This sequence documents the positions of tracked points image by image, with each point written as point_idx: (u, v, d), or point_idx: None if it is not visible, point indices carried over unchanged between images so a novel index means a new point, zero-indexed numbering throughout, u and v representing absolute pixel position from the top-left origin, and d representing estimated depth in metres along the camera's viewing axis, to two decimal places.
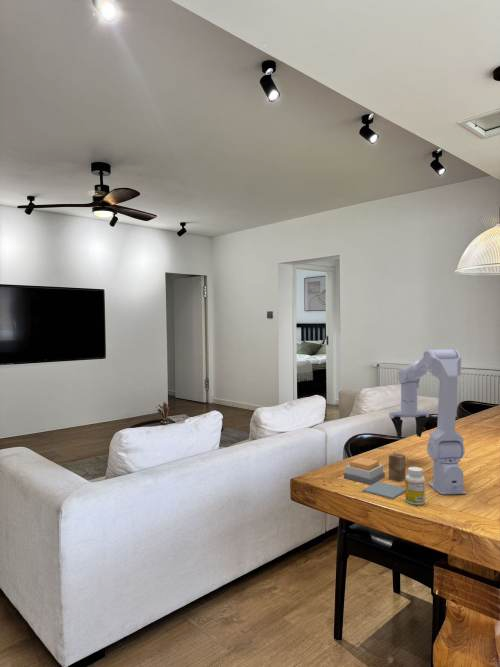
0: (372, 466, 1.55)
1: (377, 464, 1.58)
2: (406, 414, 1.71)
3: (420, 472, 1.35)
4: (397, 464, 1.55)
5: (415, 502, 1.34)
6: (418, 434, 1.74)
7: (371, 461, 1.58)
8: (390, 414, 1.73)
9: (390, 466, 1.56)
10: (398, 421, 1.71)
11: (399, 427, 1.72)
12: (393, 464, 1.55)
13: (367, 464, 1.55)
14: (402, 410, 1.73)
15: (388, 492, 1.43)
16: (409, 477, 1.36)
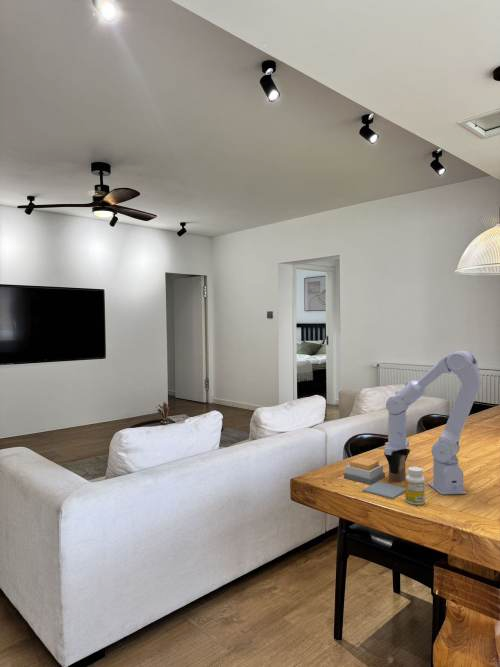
0: (372, 466, 1.55)
1: (377, 464, 1.58)
2: (401, 448, 1.53)
3: (420, 472, 1.35)
4: None
5: (415, 502, 1.34)
6: None
7: (371, 461, 1.58)
8: (387, 451, 1.51)
9: None
10: (399, 456, 1.52)
11: (398, 463, 1.53)
12: None
13: (367, 464, 1.55)
14: (394, 444, 1.54)
15: (388, 492, 1.43)
16: (409, 477, 1.36)
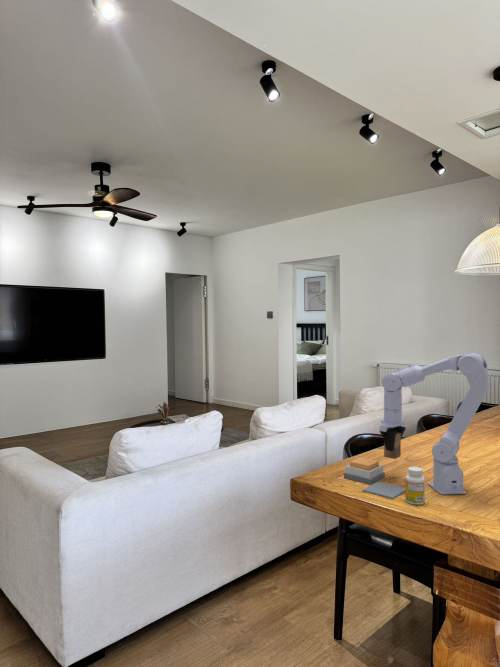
0: (372, 466, 1.55)
1: (377, 464, 1.58)
2: (396, 425, 1.54)
3: (420, 472, 1.35)
4: None
5: (415, 502, 1.34)
6: None
7: (371, 461, 1.58)
8: (382, 427, 1.51)
9: None
10: (394, 433, 1.52)
11: (393, 440, 1.53)
12: None
13: (367, 464, 1.55)
14: (390, 421, 1.54)
15: (388, 492, 1.43)
16: (409, 477, 1.36)
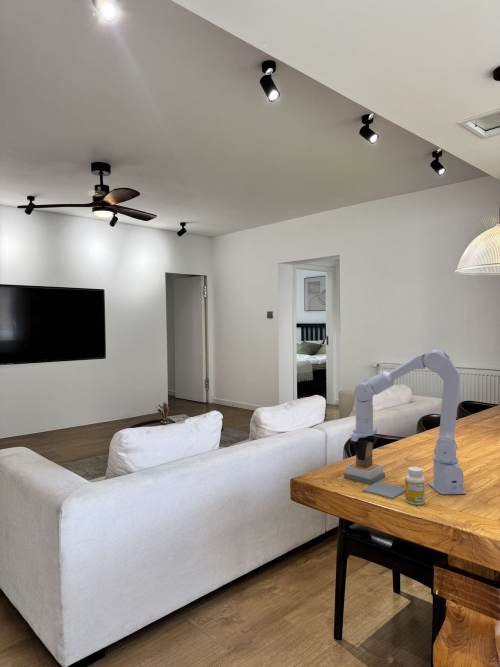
0: None
1: None
2: (367, 434, 1.55)
3: (420, 472, 1.35)
4: None
5: (415, 502, 1.34)
6: None
7: None
8: (353, 437, 1.53)
9: None
10: (365, 443, 1.54)
11: (364, 449, 1.55)
12: None
13: (367, 468, 1.55)
14: (361, 430, 1.56)
15: (388, 492, 1.43)
16: (409, 477, 1.36)
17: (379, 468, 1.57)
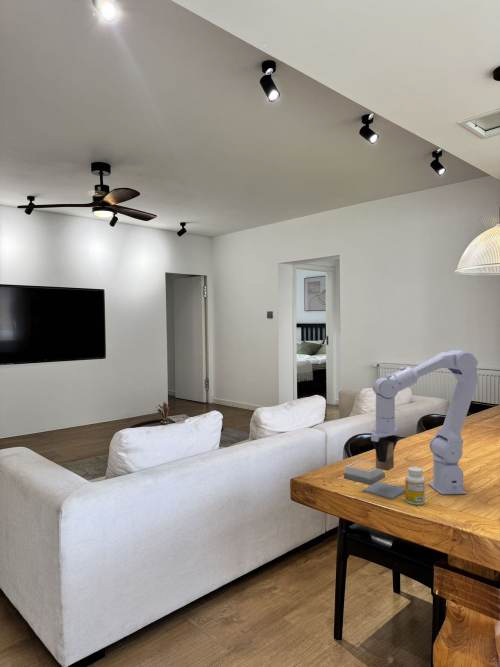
0: None
1: None
2: (389, 434, 1.42)
3: (420, 472, 1.35)
4: None
5: (415, 502, 1.34)
6: None
7: (371, 465, 1.58)
8: (374, 437, 1.40)
9: None
10: (387, 443, 1.41)
11: (385, 450, 1.42)
12: None
13: (367, 468, 1.55)
14: (382, 430, 1.43)
15: (388, 492, 1.43)
16: (409, 477, 1.36)
17: None
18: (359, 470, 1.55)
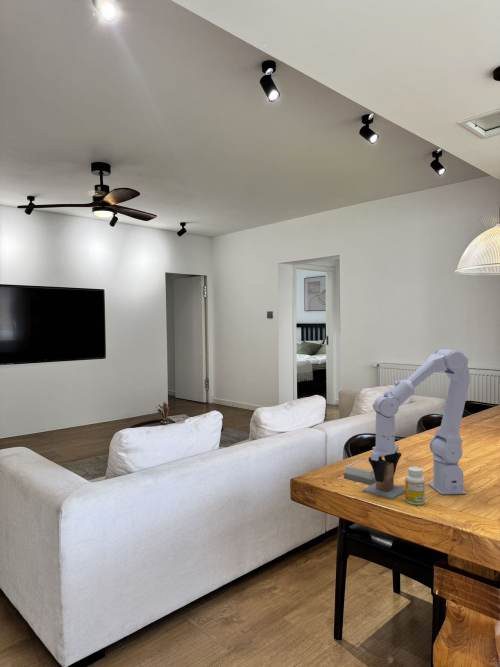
0: None
1: None
2: (389, 453, 1.42)
3: (420, 472, 1.35)
4: (384, 473, 1.44)
5: (415, 502, 1.34)
6: None
7: None
8: (374, 456, 1.40)
9: None
10: (385, 463, 1.40)
11: (383, 470, 1.41)
12: None
13: (367, 468, 1.55)
14: (382, 448, 1.43)
15: (388, 492, 1.43)
16: (409, 477, 1.36)
17: None
18: (359, 470, 1.55)
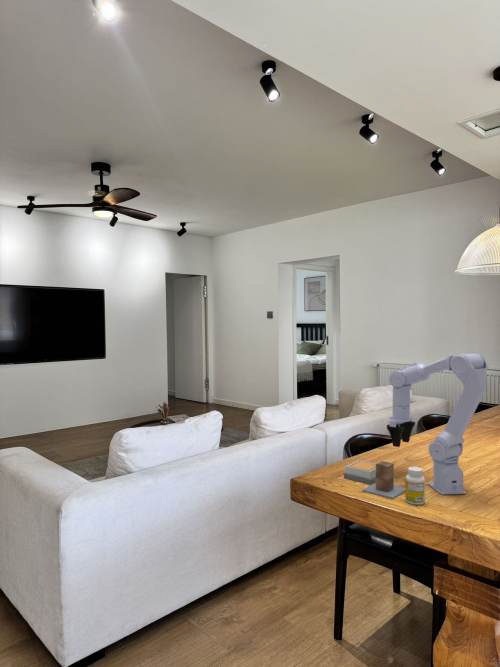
0: None
1: None
2: (405, 420, 1.58)
3: (420, 472, 1.35)
4: (384, 473, 1.44)
5: (415, 502, 1.34)
6: (406, 440, 1.64)
7: (371, 465, 1.58)
8: (392, 423, 1.56)
9: (377, 475, 1.45)
10: (402, 429, 1.56)
11: (400, 436, 1.57)
12: (381, 473, 1.45)
13: (367, 468, 1.55)
14: (399, 417, 1.59)
15: (388, 492, 1.43)
16: (409, 477, 1.36)
17: None
18: (359, 470, 1.55)
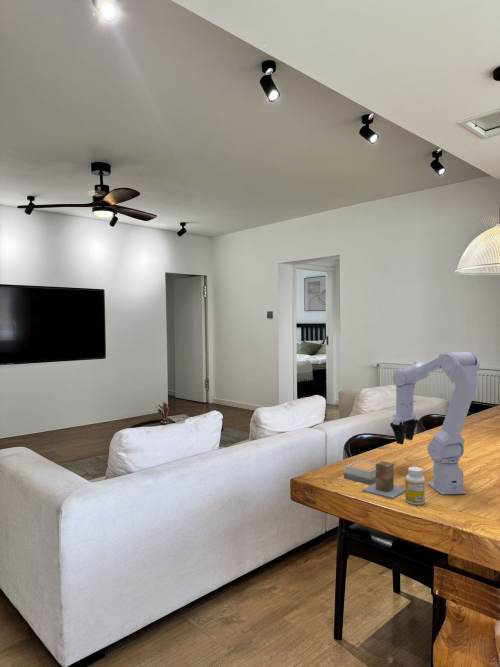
0: None
1: None
2: (408, 418, 1.62)
3: (420, 472, 1.35)
4: (384, 473, 1.44)
5: (415, 502, 1.34)
6: (409, 437, 1.67)
7: (371, 465, 1.58)
8: (395, 421, 1.59)
9: (377, 475, 1.45)
10: (405, 427, 1.59)
11: (403, 433, 1.60)
12: (381, 473, 1.45)
13: (367, 468, 1.55)
14: (402, 415, 1.62)
15: (388, 492, 1.43)
16: (409, 477, 1.36)
17: None
18: (359, 470, 1.55)
